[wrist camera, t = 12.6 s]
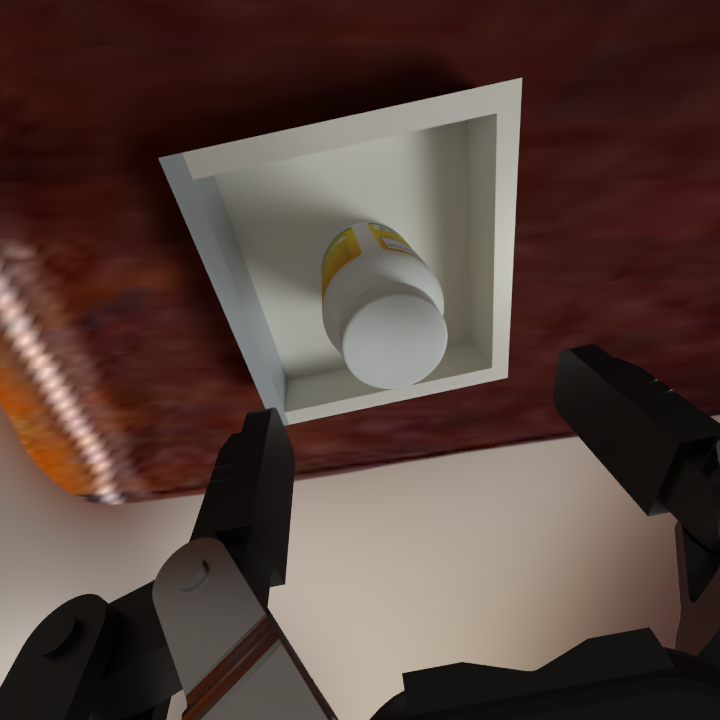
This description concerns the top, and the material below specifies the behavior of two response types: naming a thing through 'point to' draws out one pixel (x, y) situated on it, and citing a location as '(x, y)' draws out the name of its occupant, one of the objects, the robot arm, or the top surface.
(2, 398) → the top surface
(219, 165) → the box
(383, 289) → the supplement bottle
